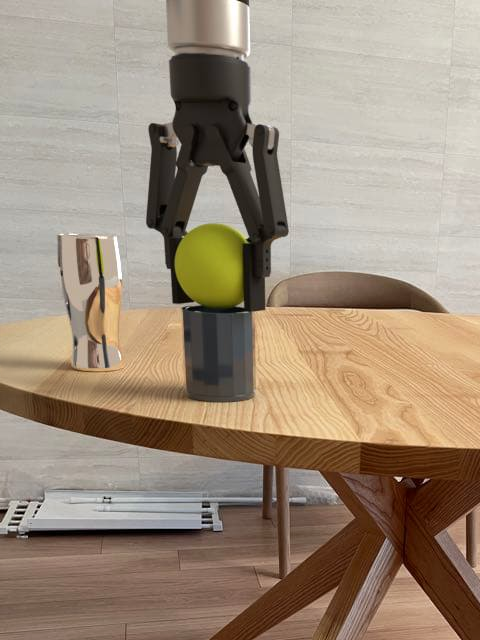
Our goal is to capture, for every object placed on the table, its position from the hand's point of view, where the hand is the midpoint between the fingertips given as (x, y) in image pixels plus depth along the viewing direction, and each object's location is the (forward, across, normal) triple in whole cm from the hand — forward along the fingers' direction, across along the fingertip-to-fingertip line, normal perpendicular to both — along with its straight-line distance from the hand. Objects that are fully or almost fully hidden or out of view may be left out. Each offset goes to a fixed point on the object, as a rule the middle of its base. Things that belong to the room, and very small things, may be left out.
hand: (218, 306), depth 86 cm
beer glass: (+9, +20, -3) cm, 23 cm away
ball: (0, 0, 0) cm, 0 cm away
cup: (+9, 0, 0) cm, 9 cm away
